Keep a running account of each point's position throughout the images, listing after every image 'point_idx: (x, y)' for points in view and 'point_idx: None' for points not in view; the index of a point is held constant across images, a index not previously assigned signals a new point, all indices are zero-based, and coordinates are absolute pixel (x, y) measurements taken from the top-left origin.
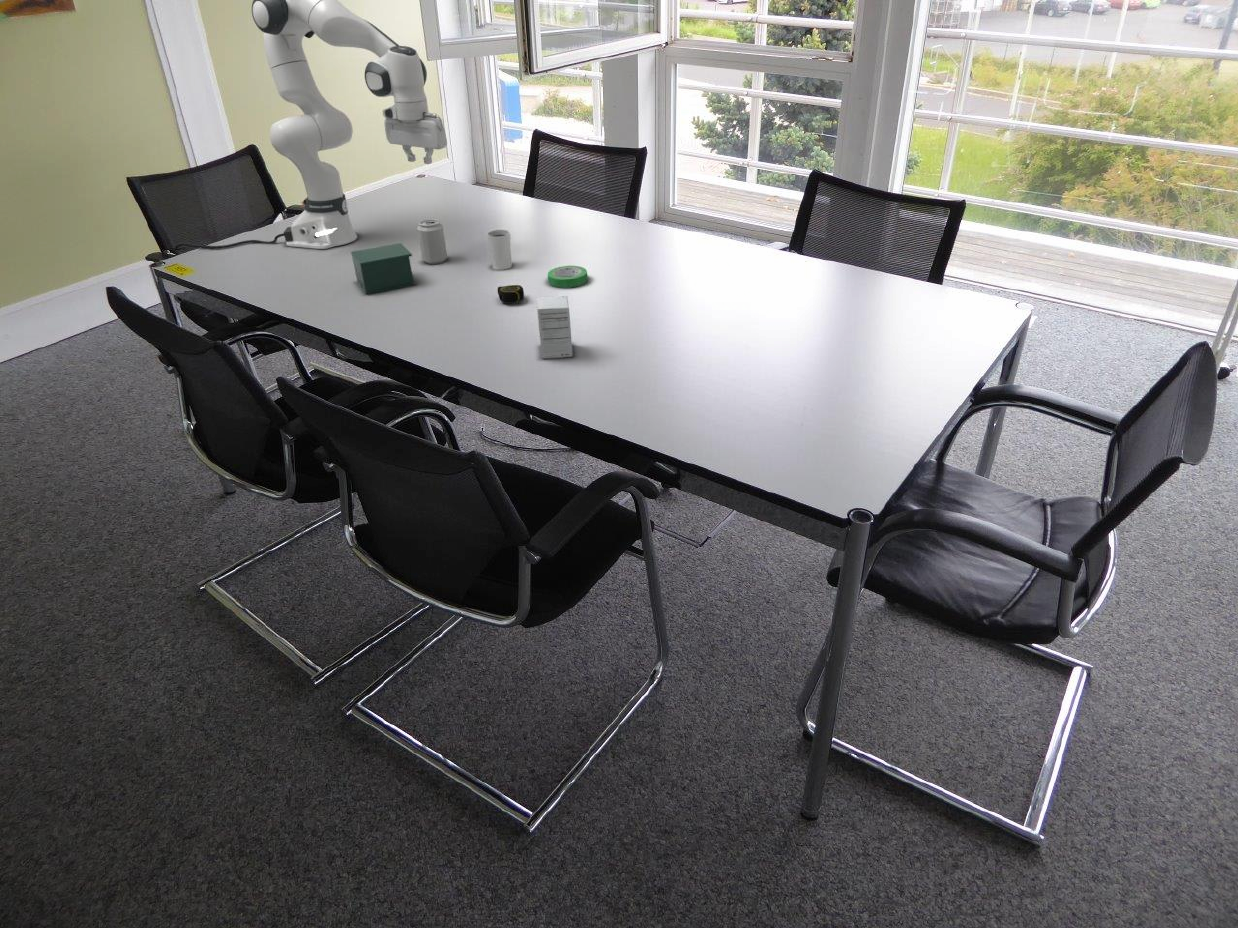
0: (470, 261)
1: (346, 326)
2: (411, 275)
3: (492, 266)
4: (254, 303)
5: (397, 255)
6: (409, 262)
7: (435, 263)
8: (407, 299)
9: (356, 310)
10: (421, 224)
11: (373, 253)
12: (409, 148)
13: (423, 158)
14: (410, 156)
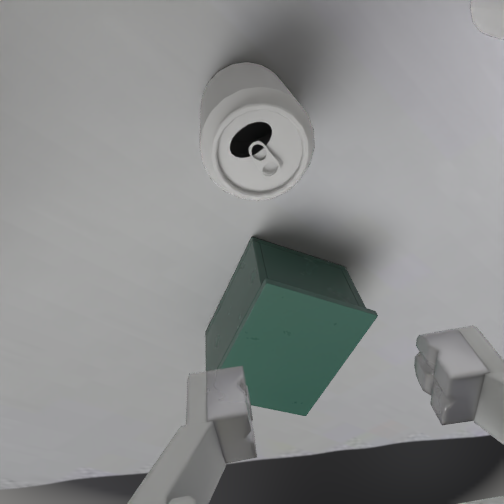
0: (361, 30)
1: (380, 428)
2: (351, 283)
3: (483, 32)
4: (142, 472)
5: (349, 343)
6: (364, 307)
7: (271, 129)
8: (395, 318)
9: (340, 395)
10: (236, 180)
11: (273, 370)
12: (171, 498)
13: (440, 417)
14: (249, 452)
